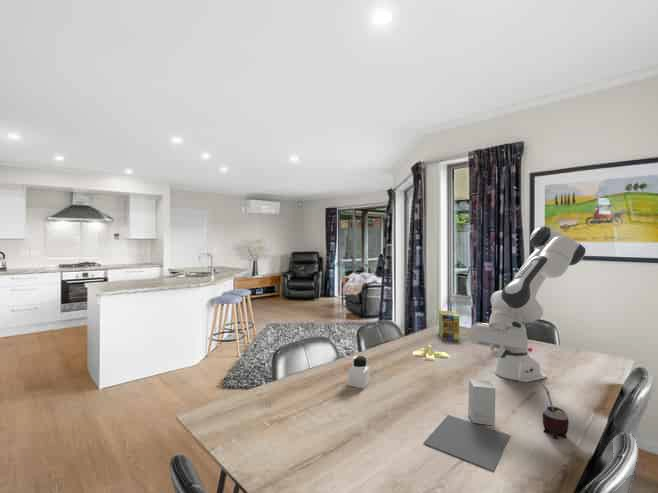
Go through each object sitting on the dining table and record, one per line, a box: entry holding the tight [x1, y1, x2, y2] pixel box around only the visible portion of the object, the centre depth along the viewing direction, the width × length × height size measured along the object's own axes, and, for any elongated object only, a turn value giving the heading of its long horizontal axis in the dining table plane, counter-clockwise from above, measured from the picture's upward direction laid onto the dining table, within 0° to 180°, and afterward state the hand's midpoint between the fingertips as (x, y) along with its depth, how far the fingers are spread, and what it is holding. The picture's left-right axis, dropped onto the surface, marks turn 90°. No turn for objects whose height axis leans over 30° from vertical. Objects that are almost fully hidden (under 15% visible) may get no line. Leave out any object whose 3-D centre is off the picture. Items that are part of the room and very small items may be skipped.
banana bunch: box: [411, 344, 451, 362], centre depth 188 cm, size 22×19×6 cm
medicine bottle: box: [348, 355, 370, 390], centre depth 147 cm, size 7×7×12 cm
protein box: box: [438, 310, 460, 341], centre depth 224 cm, size 10×15×16 cm
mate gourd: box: [539, 381, 569, 440], centre depth 111 cm, size 8×8×15 cm
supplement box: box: [467, 378, 497, 426], centre depth 119 cm, size 7×7×13 cm
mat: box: [422, 414, 511, 473], centre depth 107 cm, size 22×20×1 cm
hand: (495, 356), depth 128 cm, fingers closed
